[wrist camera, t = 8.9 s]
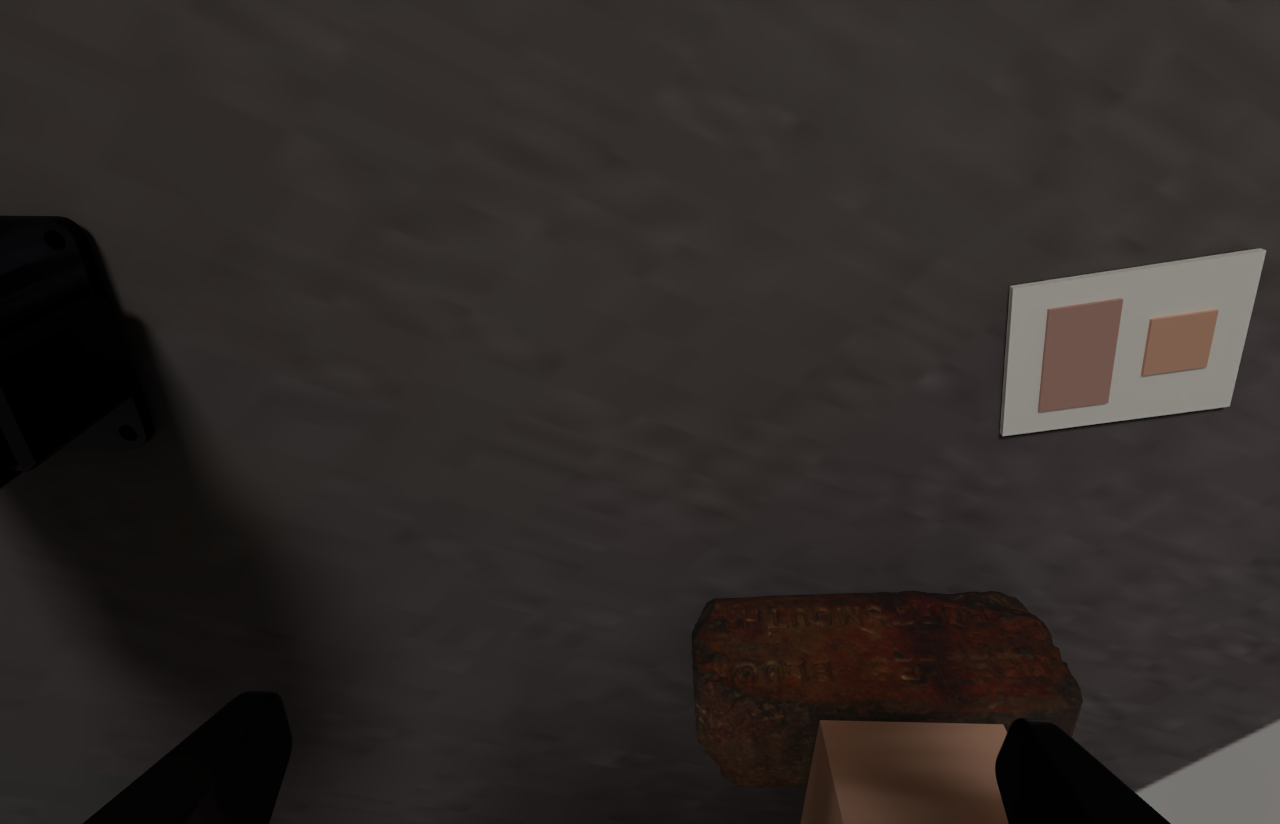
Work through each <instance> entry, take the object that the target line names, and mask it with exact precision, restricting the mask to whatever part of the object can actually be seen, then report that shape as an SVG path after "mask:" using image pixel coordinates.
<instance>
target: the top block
mask: <svg viewBox="0 0 1280 824" xmlns="http://www.w3.org/2000/svg"><path fill="white" fill-rule="evenodd" d="M1006 734H1007V731H1006V729H1005V727H1004V725H1003V724H966V723H922V722H878V721H834V720H820V721H819V727H818V732H817V737H816V743H815V748H814V753H813V759H812V764H811V769H810V775H809V780H808V785H807V790H806V796H805V801H804V806H803V812H802V817H801V822H800V824H1008V820H1007V817H1006V813H1005V809H1004V806H1003V802H1002V799H1001V795H1000V791H999V788H998V784H997V780H996V775H995V763H996V758H997V756H998V753H999V751H1000V749H1001V746H1002V744H1003V741H1004V739H1005V737H1006Z"/></svg>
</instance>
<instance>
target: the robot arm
mask: <svg viewBox="0 0 1280 824" xmlns="http://www.w3.org/2000/svg"><path fill="white" fill-rule="evenodd" d="M56 232H58V233H59V234H61V235H62V236H63V238H64V239H65V242H66V245H64V244H62V243H61V242H60V241H59V240H58V238H57V237H56ZM128 426H131V427H132V428H134V429H135V431H136V432H137V433H135V432H133V431H132V430H130V428H129V427H128ZM154 433H155V429H154V425H153V422H152V419H151V416H150V414H149V411H148V408H147V405H146V402H145V400H144V397H143V394H142V391H141V388H140V386H139V383H138V380H137V377H136V375H135V372H134V369H133V366H132V363H131V361H130V358H129V355H128V352H127V349H126V347H125V344H124V341H123V338H122V336H121V333H120V330H119V327H118V324H117V322H116V319H115V316H114V313H113V310H112V308H111V305H110V302H109V299H108V296H107V294H106V291H105V288H104V285H103V283H102V280H101V277H100V274H99V271H98V269H97V266H96V263H95V260H94V257H93V255H92V252H91V249H90V246H89V244H88V241H87V238H86V236H85V234H84V232H83V230H82V229H81V228H80V227H79V226H78V225H77V224H76V223H75V222H73V221H72V220H70V219H68V218H65V217H60V216H0V488H2V487H3V486H4V485H6V484H7V483H9V482H10V481H11V480H13V479H14V478H15V477H17V476H18V475H20V474H21V473H22V472H24V471H30V470H32V469H34V468H36V467H37V466H38V465H40V464H41V463H43V462H44V461H45V460H47V459H48V458H49V457H51V456H52V455H53V454H55V453H56V452H57V451H59V450H60V449H62V448H63V447H90V448H138V447H141V446H142V445H144V444H145V443H146V442H147V441H149V440H150V439H151V438H152V437H153V435H154ZM291 750H292V735H291V731H290V727H289V723H288V720H287V716H286V712H285V709H284V705H283V701H282V699H281V697H280V696H279V695H278V694H277V693H274V692H254V691H250V692H244V693H242V694H240V695H238V696H237V697H235V698H234V699H233V700H232V701H231V702H229V703H228V704H227V705H226V706H225V707H223V708H222V709H221V710H220V711H218V712H217V713H216V714H215V715H214V716H212V717H211V718H210V719H209V720H208V721H206V722H205V723H204V724H203V725H202V726H200V727H199V728H198V729H197V730H195V731H194V732H193V733H192V734H191V735H189V736H188V737H187V738H186V739H185V740H183V741H182V742H181V743H180V744H179V745H177V746H176V747H175V748H174V749H172V750H171V751H170V752H169V753H168V754H166V755H165V756H164V757H163V758H162V759H160V760H159V761H158V762H157V763H156V764H154V765H153V766H152V767H151V768H149V769H148V770H147V771H146V772H145V773H143V774H142V775H141V776H140V777H139V778H137V779H136V780H135V781H134V782H133V783H131V784H130V785H129V786H128V787H126V788H125V789H124V790H123V791H122V792H120V793H119V794H118V795H117V796H116V797H114V798H113V799H112V800H111V801H110V802H108V803H107V804H106V805H105V806H103V807H102V808H101V809H100V810H99V811H97V812H96V813H95V814H94V815H93V816H91V817H90V818H89V819H88V820H87V821H85V822H84V823H83V824H269V822H270V819H271V816H272V813H273V809H274V806H275V803H276V800H277V797H278V794H279V790H280V787H281V784H282V781H283V778H284V775H285V771H286V768H287V765H288V762H289V759H290V755H291ZM995 775H996V780H997V784H998V788H999V791H1000V795H1001V799H1002V802H1003V806H1004V809H1005V813H1006V817H1007V820H1008V824H1170V823H1169V822H1168V821H1167V820H1166V819H1165V818H1163V817H1162V816H1161V815H1160V814H1159V813H1158V812H1157V811H1155V810H1154V809H1153V808H1152V807H1151V806H1149V804H1147V803H1146V802H1145V801H1144V800H1143V799H1142V798H1141V797H1139V796H1138V795H1137V794H1136V793H1135V792H1134V791H1132V790H1131V789H1130V788H1129V787H1128V786H1127V785H1126V784H1124V783H1123V782H1122V781H1121V780H1120V779H1119V778H1118V777H1116V776H1115V775H1114V774H1113V773H1112V772H1111V771H1110V770H1108V769H1107V768H1106V767H1105V766H1104V765H1103V764H1102V763H1100V762H1099V761H1098V760H1097V759H1096V758H1095V757H1093V756H1092V755H1091V754H1090V753H1089V752H1088V751H1087V750H1085V749H1084V748H1083V747H1082V746H1081V745H1080V744H1079V743H1077V742H1076V741H1075V740H1074V739H1073V738H1072V737H1071V736H1069V735H1068V734H1067V733H1066V732H1065V731H1064V730H1063V729H1061V728H1060V727H1059V726H1058V725H1057V724H1055V723H1054V722H1052V721H1050V720H1047V719H1041V718H1017V719H1016V720H1014V721H1013V722H1012V723H1011V725H1010V727H1009V730H1008V732H1007V734H1006V737H1005V739H1004V741H1003V744H1002V746H1001V749H1000V751H999V753H998V756H997V758H996V763H995Z"/></svg>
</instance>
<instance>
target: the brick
mask: <svg viewBox="0 0 1280 824" xmlns="http://www.w3.org/2000/svg"><path fill="white" fill-rule="evenodd" d="M692 658H693V681H694V694H695V714H696V731H697V735H698V740H699V743H700V744H701V745H702V747H703V749H704V751H705V753H708V754H709V755H710V756H711V757H712V760H714V761H715V762H716V763H717V764H718V766H719V768H720V771H721V774H722V776H723V777H724V778H725V779H728V780H730V781H732V782H733V783H734V784H736V785H737V786H743V787H758V788H762V787H807V785H808V780H809V775H810V769H811V764H812V759H813V753H814V748H815V743H816V737H817V732H818V727H819V721H820V720H834V721H878V722H922V723H966V724H1003V725H1004V727H1005V729H1006V731H1007V732H1008V730H1009V727H1010V725H1011V723H1012V722H1013V721H1014V720H1016V719H1017V718H1041V719H1047V720H1050V721H1052V722H1054V723H1055V724H1057V725H1058V726H1059V727H1060V728H1061V729H1063V730H1064V731H1065V732H1066V733H1067V734H1068V735H1069V736H1071V737H1072V734H1073V731H1074V728H1075V725H1076V722H1077V719H1078V716H1079V712H1080V709H1081V705H1082V702H1083V700H1082V695H1081V690H1080V688H1079V685H1078V683H1077V681H1076V680H1075V679H1074V677H1073V676H1072V675H1071V673H1070V671H1069V669H1068V667H1067V663H1065V662H1063V661H1062V660H1061V655H1060V651H1059V648H1057V647H1055V646H1054V645H1053V642H1052V637H1051V634H1050V632H1049V630H1048V628H1047V627H1046V625H1045V624H1044V622H1042V621H1041V620H1040V619H1039V618H1038V617H1036V616H1035V615H1033V614H1031V613H1029V612H1028V611H1027V609H1026V608H1025V607H1024V606H1023V604H1022V603H1021V602H1020V601H1019V600H1018V599H1017V598H1014V597H1010V596H1007V595H1005V594H1003V593H1000V592H994V591H990V592H982V593H979V592H966V593H959V594H939V593H925V592H918V591H904V592H900V593H889V592H880V593H868V594H866V593H854V594H825V595H791V596H764V597H751V598H723V599H714V600H711V601H709V602H707V604H706V606H705V608H704V609H703V611H702V613H701V615H700V617H699V620H698V622H697V624H696V625H695V629H694V630H693V632H692Z"/></svg>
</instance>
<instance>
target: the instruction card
mask: <svg viewBox="0 0 1280 824" xmlns="http://www.w3.org/2000/svg"><path fill="white" fill-rule="evenodd" d="M1265 254H1266V250H1264V249H1261V248H1259V249H1252V250H1246V251H1239V252H1232V253H1226V254H1219V255H1212V256H1206V257H1199V258H1192V259H1186V260H1179V261H1173V262H1166V263H1159V264H1153V265H1146V266H1139V267H1133V268H1126V269H1119V270H1113V271H1106V272H1100V273H1093V274H1086V275H1080V276H1073V277H1066V278H1060V279H1053V280H1046V281H1040V282H1033V283H1027V284H1020V285H1013V286H1010V290H1009V304H1008V319H1007V333H1006V348H1005V362H1004V377H1003V391H1002V406H1001V421H1000V434H1001V435H1002V436H1009V435H1017V434H1024V433H1032V432H1039V431H1047V430H1055V429H1062V428H1070V427H1078V426H1085V425H1093V424H1100V423H1108V422H1116V421H1123V420H1131V419H1139V418H1146V417H1154V416H1161V415H1169V414H1177V413H1184V412H1192V411H1200V410H1207V409H1215V408H1222V407H1230V402H1231V398H1232V394H1233V390H1234V385H1235V381H1236V377H1237V373H1238V369H1239V364H1240V360H1241V356H1242V352H1243V347H1244V343H1245V339H1246V335H1247V330H1248V326H1249V322H1250V318H1251V313H1252V309H1253V305H1254V301H1255V296H1256V292H1257V288H1258V284H1259V279H1260V275H1261V271H1262V267H1263V262H1264V258H1265Z"/></svg>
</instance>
